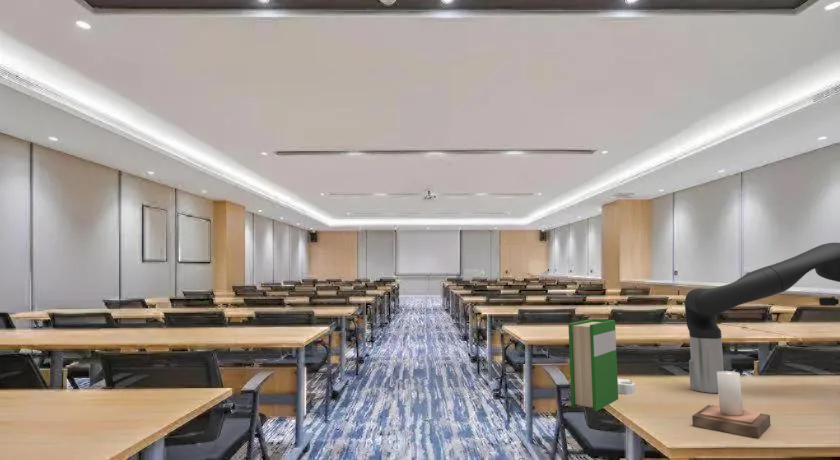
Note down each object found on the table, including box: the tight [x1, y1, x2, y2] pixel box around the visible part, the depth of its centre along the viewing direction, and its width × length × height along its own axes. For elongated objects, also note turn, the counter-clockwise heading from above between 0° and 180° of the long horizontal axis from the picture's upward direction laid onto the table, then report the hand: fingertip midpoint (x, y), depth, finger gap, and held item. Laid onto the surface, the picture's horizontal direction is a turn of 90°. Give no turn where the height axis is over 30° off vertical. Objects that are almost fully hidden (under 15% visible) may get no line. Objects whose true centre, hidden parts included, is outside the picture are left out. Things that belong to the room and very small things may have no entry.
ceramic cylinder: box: [717, 370, 744, 416], centre depth 126 cm, size 5×5×10 cm
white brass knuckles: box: [617, 378, 636, 395], centre depth 166 cm, size 3×18×15 cm
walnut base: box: [691, 404, 772, 439], centre depth 125 cm, size 14×14×3 cm
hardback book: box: [567, 318, 619, 412], centre depth 149 cm, size 18×7×24 cm, turn 139°
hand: (830, 302), depth 137 cm, fingers open, 8 cm apart
